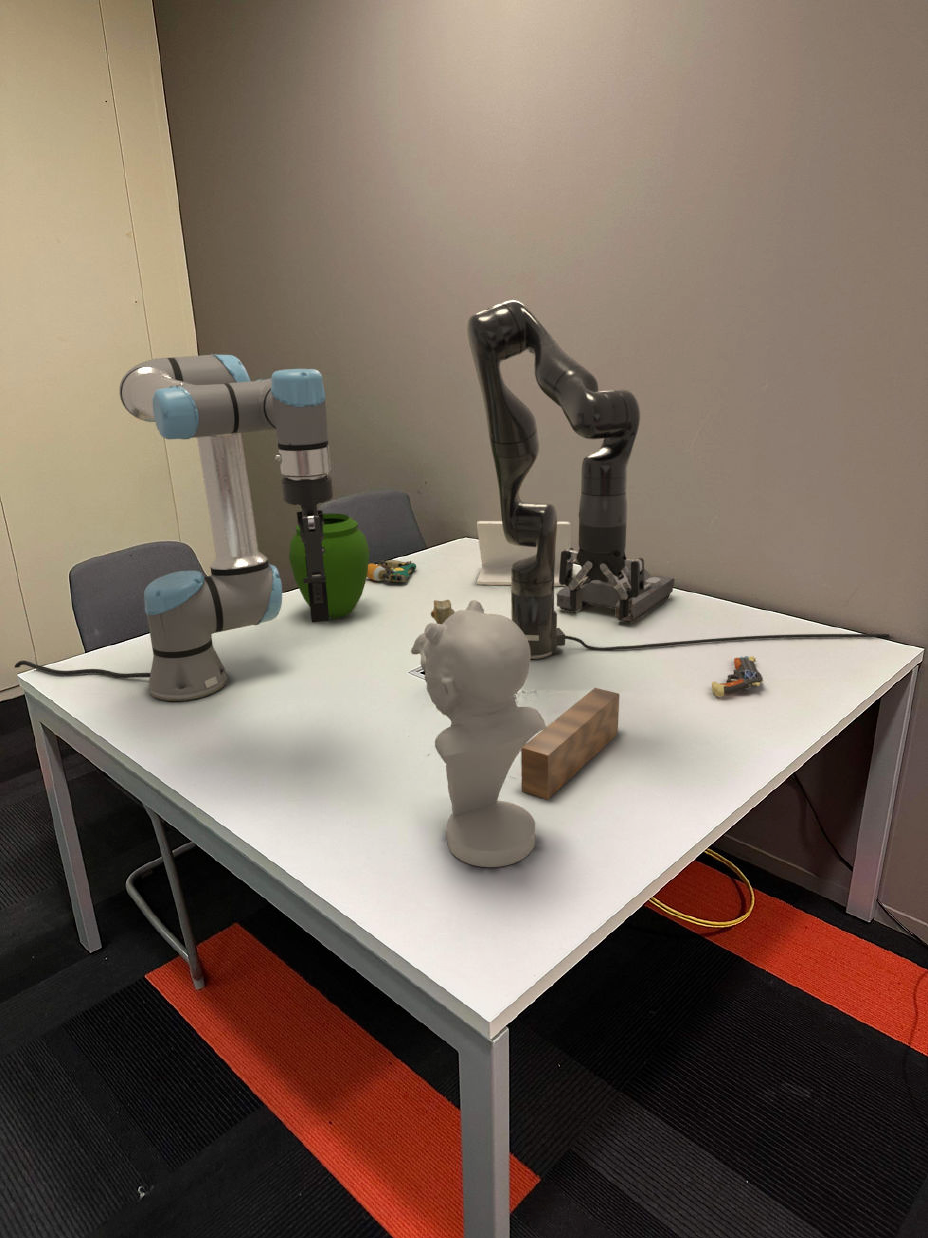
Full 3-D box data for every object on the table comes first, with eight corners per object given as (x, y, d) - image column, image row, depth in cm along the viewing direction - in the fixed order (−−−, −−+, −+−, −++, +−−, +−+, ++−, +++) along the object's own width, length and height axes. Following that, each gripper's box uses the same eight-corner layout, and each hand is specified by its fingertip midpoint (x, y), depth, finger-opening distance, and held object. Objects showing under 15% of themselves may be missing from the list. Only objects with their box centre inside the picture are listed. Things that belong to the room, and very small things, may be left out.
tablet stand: (569, 585, 229) (570, 524, 223) (476, 584, 232) (475, 523, 226) (570, 566, 246) (571, 508, 240) (484, 564, 249) (483, 507, 243)
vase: (389, 608, 216) (383, 514, 208) (339, 633, 201) (330, 533, 192) (330, 596, 226) (322, 506, 218) (278, 619, 211) (267, 523, 202)
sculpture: (458, 662, 183) (456, 596, 178) (460, 676, 176) (457, 608, 171) (431, 663, 183) (428, 597, 177) (431, 677, 176) (428, 609, 171)
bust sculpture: (481, 772, 140) (476, 569, 128) (565, 848, 120) (569, 617, 108) (392, 800, 134) (378, 588, 121) (465, 886, 114) (457, 642, 101)
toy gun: (713, 687, 162) (768, 684, 160) (705, 654, 180) (754, 651, 178) (714, 700, 163) (769, 697, 161) (706, 666, 181) (755, 664, 179)
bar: (593, 726, 155) (594, 687, 152) (618, 733, 152) (619, 693, 149) (521, 791, 135) (521, 747, 132) (547, 800, 133) (548, 755, 130)
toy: (603, 584, 229) (605, 530, 224) (673, 597, 218) (677, 540, 213) (555, 612, 210) (556, 553, 205) (630, 627, 199) (633, 566, 194)
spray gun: (385, 567, 252) (430, 574, 246) (355, 580, 238) (402, 588, 232) (385, 553, 251) (430, 559, 245) (355, 565, 236) (402, 573, 230)
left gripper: (281, 462, 140) (293, 585, 148) (281, 493, 117) (296, 637, 125) (326, 459, 142) (337, 581, 149) (336, 490, 119) (347, 631, 126)
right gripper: (654, 519, 135) (649, 615, 141) (573, 509, 143) (572, 600, 149) (634, 530, 130) (630, 629, 135) (552, 519, 137) (551, 613, 143)
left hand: (318, 606), depth 137 cm, fingers open, 13 cm apart
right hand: (599, 614), depth 142 cm, fingers open, 8 cm apart
